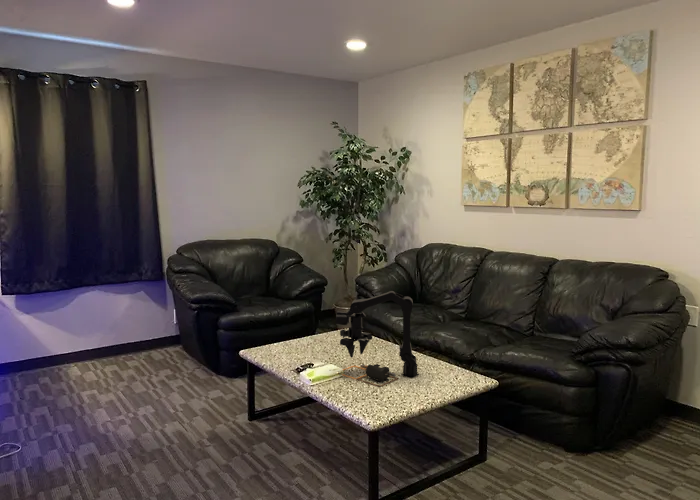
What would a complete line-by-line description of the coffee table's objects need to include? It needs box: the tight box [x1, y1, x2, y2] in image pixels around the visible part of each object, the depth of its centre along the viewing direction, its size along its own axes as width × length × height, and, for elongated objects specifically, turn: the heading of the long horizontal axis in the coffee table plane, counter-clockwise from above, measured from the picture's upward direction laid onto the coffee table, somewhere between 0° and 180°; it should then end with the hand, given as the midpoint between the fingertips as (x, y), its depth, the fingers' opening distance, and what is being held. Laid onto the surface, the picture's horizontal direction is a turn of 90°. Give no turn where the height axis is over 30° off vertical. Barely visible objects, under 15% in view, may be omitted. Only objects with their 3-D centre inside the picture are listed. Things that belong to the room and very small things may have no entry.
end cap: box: [365, 363, 390, 383], centre depth 256 cm, size 10×7×7 cm
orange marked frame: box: [341, 365, 366, 381], centre depth 266 cm, size 15×15×1 cm
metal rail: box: [360, 363, 397, 377], centre depth 267 cm, size 22×2×1 cm, turn 47°
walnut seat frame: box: [356, 374, 400, 388], centre depth 256 cm, size 15×15×1 cm
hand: (356, 355), depth 264 cm, fingers open, 7 cm apart
